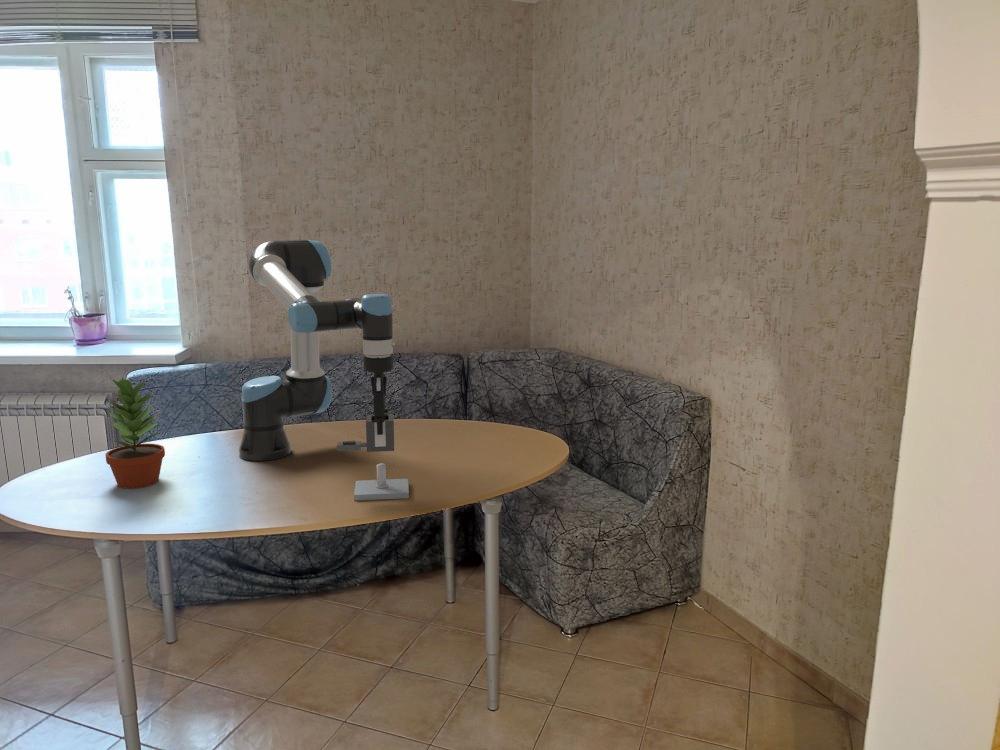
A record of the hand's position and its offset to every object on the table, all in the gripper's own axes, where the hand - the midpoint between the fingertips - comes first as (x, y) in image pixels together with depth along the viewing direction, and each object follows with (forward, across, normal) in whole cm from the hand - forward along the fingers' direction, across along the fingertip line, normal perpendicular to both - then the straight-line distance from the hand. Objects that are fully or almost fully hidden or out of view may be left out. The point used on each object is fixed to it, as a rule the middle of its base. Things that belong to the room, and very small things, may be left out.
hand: (380, 441), depth 197 cm
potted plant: (+14, +16, +66) cm, 69 cm away
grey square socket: (+2, 0, +4) cm, 4 cm away
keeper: (+14, 0, 0) cm, 14 cm away
